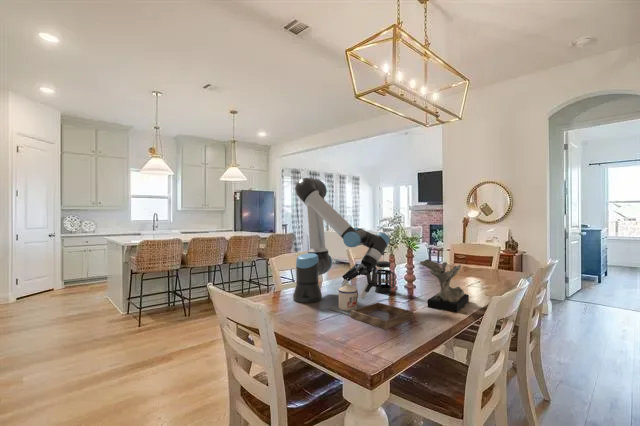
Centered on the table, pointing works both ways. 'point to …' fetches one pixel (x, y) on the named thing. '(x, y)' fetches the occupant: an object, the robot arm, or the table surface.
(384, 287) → the french press
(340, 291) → the teacup with lid
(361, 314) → the wooden frame
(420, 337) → the table surface
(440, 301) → the coral
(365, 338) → the table surface
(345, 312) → the rubber mat
